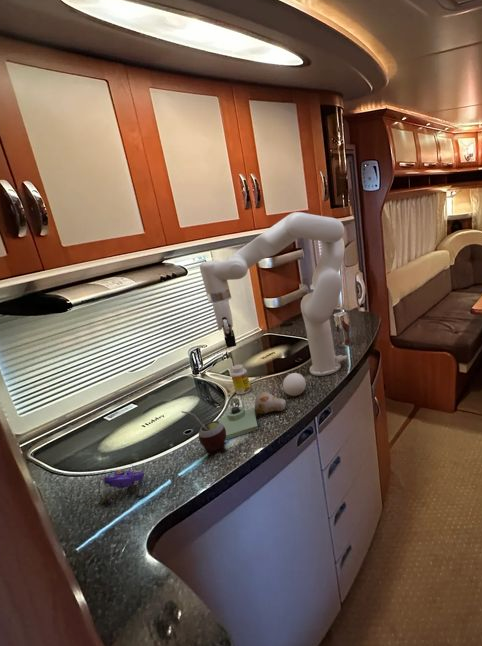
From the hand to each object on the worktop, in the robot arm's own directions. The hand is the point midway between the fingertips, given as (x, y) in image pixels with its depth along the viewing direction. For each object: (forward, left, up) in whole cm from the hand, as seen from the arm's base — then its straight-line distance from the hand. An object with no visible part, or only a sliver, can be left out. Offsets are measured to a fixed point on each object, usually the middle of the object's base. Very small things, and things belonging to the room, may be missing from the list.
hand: (231, 343), depth 135 cm
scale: (+3, +24, -20) cm, 31 cm away
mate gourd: (+10, +34, -20) cm, 41 cm away
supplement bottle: (0, 0, -20) cm, 20 cm away
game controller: (+31, +40, -20) cm, 54 cm away
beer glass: (-47, -19, -20) cm, 54 cm away
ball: (-17, +15, -20) cm, 30 cm away
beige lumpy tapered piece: (-8, +21, -20) cm, 30 cm away
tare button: (+3, +20, -17) cm, 26 cm away
